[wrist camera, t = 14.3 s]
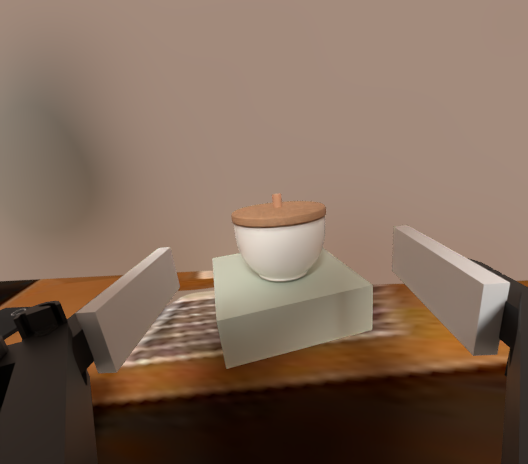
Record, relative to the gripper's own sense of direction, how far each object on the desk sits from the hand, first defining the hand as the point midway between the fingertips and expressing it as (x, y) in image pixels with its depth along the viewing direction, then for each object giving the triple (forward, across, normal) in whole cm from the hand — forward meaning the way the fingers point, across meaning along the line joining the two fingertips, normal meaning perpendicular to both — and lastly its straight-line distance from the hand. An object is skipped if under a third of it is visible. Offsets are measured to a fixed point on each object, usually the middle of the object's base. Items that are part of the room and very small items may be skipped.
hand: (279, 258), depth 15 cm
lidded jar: (+14, 0, -8) cm, 16 cm away
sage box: (+16, -1, -14) cm, 21 cm away
